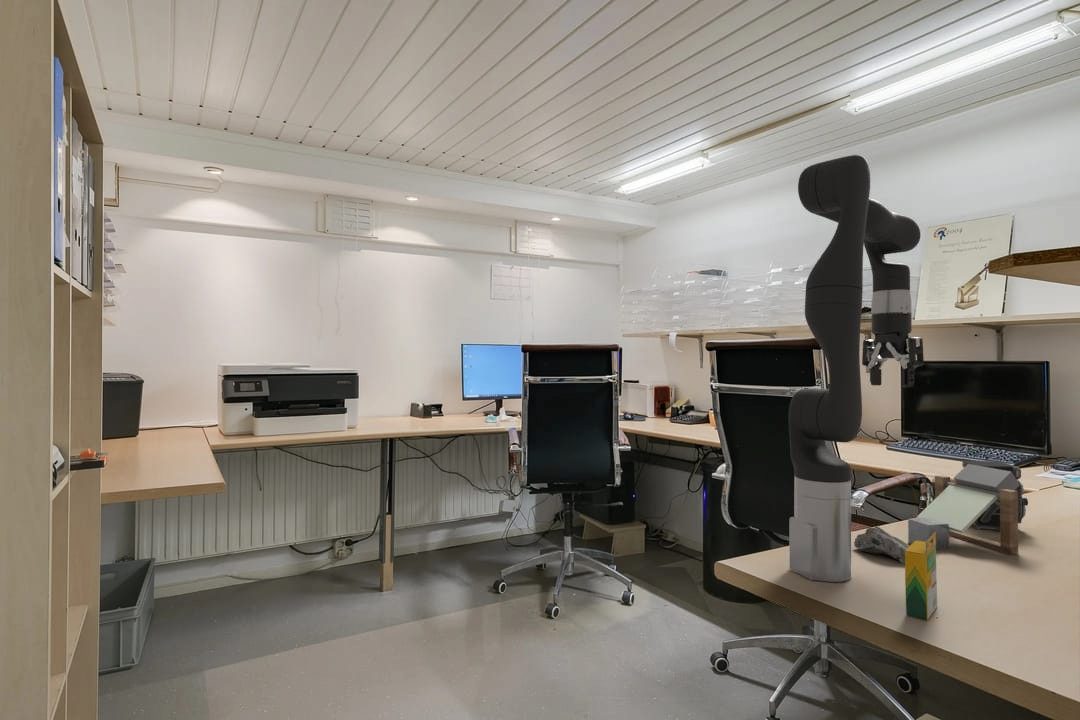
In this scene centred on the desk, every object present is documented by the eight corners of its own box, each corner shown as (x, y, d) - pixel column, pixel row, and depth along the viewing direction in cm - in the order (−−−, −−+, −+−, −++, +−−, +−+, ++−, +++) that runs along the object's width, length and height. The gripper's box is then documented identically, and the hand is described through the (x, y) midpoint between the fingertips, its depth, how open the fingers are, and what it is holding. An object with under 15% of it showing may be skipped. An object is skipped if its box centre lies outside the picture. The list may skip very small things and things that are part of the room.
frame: (1010, 554, 115) (1009, 491, 115) (935, 530, 132) (934, 475, 132) (1018, 553, 116) (1017, 491, 116) (942, 530, 132) (942, 475, 132)
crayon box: (915, 601, 92) (914, 528, 92) (937, 606, 90) (937, 531, 90) (904, 615, 87) (904, 537, 87) (927, 621, 85) (927, 542, 85)
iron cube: (949, 547, 119) (928, 549, 118) (928, 540, 124) (908, 542, 123) (948, 523, 119) (928, 525, 118) (927, 517, 124) (908, 518, 123)
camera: (1032, 535, 128) (1032, 468, 128) (976, 531, 131) (975, 465, 132) (1011, 523, 138) (1011, 460, 138) (959, 519, 141) (959, 458, 141)
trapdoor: (972, 542, 116) (963, 528, 115) (918, 525, 128) (910, 512, 128) (1027, 486, 119) (1018, 472, 118) (969, 475, 131) (961, 462, 131)
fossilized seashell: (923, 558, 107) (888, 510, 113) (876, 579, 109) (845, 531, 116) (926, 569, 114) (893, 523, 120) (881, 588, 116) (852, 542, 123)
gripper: (852, 314, 133) (852, 385, 133) (903, 308, 119) (903, 387, 119) (880, 315, 135) (880, 385, 134) (933, 309, 121) (934, 387, 120)
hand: (891, 386), depth 127 cm, fingers open, 8 cm apart
